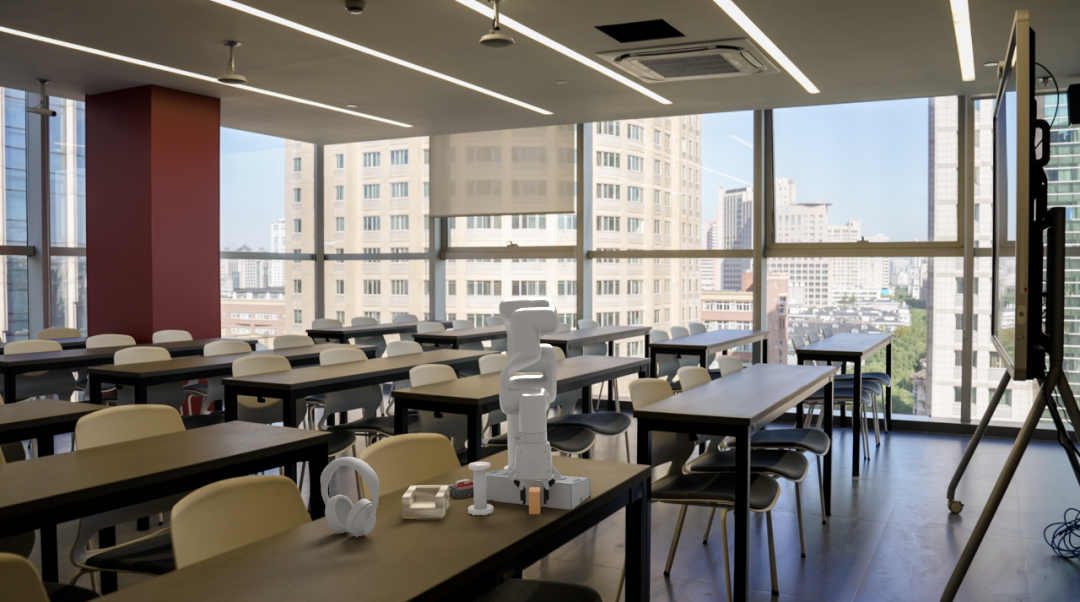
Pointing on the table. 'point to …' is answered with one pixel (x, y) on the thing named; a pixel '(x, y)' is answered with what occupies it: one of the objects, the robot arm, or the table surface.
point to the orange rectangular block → (534, 500)
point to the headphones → (341, 508)
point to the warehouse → (561, 493)
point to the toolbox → (461, 488)
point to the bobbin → (480, 489)
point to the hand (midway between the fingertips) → (534, 502)
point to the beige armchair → (426, 501)
